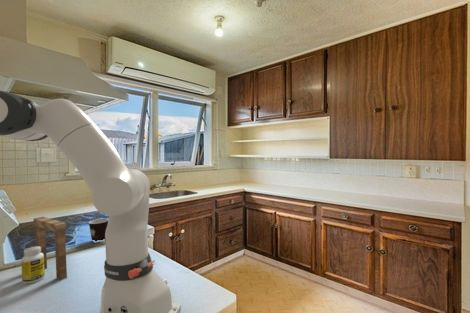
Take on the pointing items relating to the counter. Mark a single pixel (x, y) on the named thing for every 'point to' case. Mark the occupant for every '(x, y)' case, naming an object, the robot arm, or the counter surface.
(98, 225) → the coffee mug
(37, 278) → the pill bottle
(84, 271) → the counter surface
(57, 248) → the walnut archway
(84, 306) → the counter surface
